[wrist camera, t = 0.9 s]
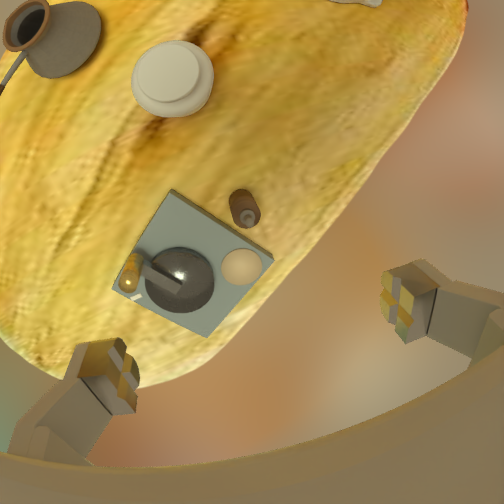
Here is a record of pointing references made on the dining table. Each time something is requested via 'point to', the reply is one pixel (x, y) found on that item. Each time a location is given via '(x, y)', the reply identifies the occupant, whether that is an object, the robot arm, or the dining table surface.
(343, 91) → the dining table surface
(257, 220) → the brown bottle
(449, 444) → the robot arm
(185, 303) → the dial
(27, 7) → the coffee pot
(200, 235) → the board
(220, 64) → the dining table surface
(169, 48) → the pill bottle
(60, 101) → the dining table surface
